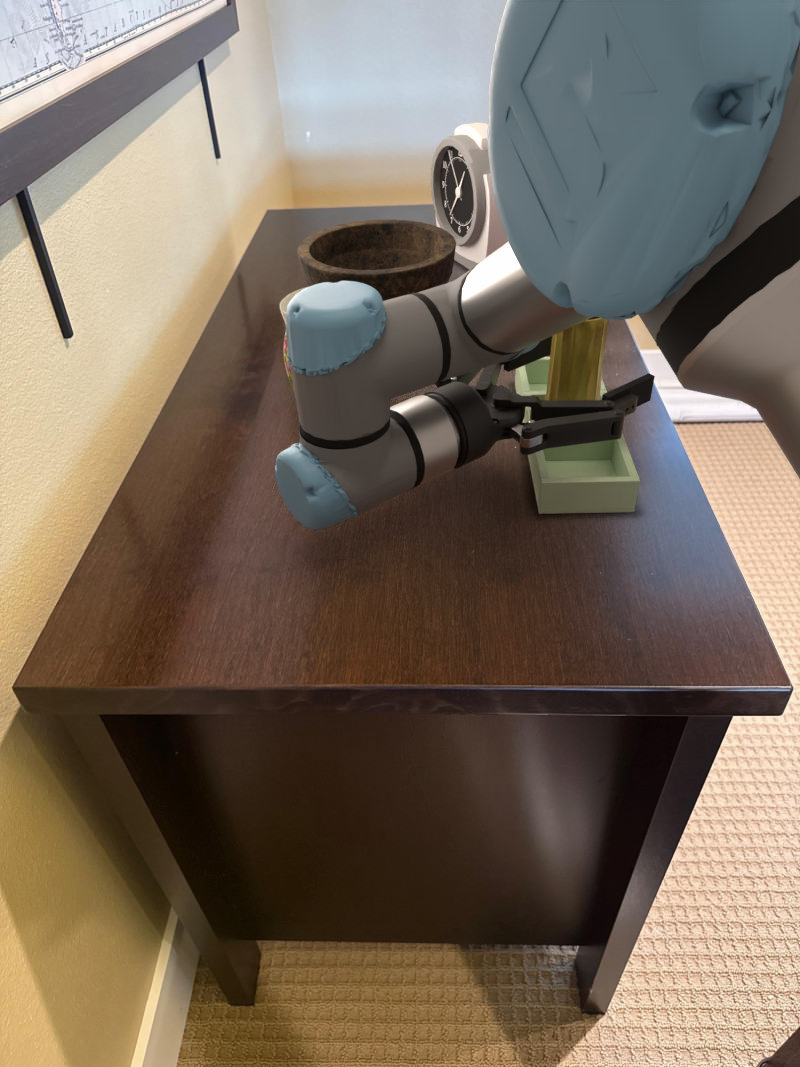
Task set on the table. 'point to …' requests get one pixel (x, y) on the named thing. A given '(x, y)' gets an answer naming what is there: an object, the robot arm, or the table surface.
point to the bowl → (380, 256)
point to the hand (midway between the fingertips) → (597, 362)
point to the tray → (577, 463)
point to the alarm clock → (466, 194)
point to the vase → (577, 361)
